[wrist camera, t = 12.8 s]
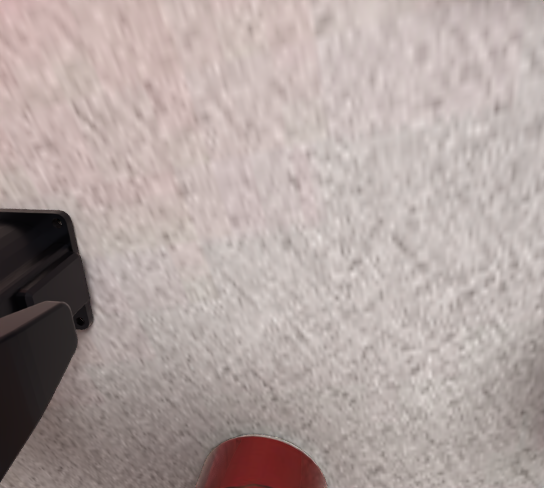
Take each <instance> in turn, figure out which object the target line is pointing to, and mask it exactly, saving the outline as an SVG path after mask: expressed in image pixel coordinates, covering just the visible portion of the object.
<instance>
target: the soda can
mask: <svg viewBox="0 0 544 488" xmlns="http://www.w3.org/2000/svg"><path fill="white" fill-rule="evenodd" d="M195 488H327V483H326V480H325V477H324V475H323V473H322V471H321V470H320V468H319V466H318V465H317V464H316V463H315V462H314V461H313V460H312V458H311V457H310V456H309V455H308V454H306V453H305V452H304V451H303V450H302V449H300V448H299V447H297V446H295V445H294V444H292V443H290V442H288V441H286V440H283V439H280V438H277V437H273V436H269V435H261V434H250V435H242V436H238V437H234V438H231V439H229V440H227V441H224V442H222V443H221V444H219V445H218V446H217V447H215V448H214V449H213V450H212V451H211V453H210V454H209V455H208V456H207V458H206V460H205V463H204V465H203V468H202V471H201V473H200V476H199V479H198V481H197V484H196V487H195Z"/></svg>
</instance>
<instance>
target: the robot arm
mask: <svg viewBox="0 0 544 488" xmlns="http://www.w3.org/2000/svg"><path fill="white" fill-rule="evenodd" d="M57 219H59V220H60V221H61V222H62V225H61V224H59V223H58V221H57ZM80 318H82V319H84V321H82V320H81V319H80ZM92 322H93V316H92V311H91V307H90V302H89V293H88V288H87V284H86V279H85V275H84V270H83V266H82V261H81V257H80V255H79V253H78V248H77V244H76V239H75V235H74V230H73V226H72V221H71V218H70V216H69V215H68V214H67V213H65V212H64V211H60V210H29V209H0V482H1V481H2V479H3V478H4V476H5V474H6V473H7V471H8V470H9V468H10V467H11V465H12V463H13V462H14V460H15V459H16V457H17V456H18V454H19V452H20V451H21V449H22V448H23V446H24V445H25V443H26V441H27V440H28V438H29V437H30V435H31V434H32V432H33V430H34V429H35V427H36V426H37V424H38V422H39V421H40V419H41V417H42V415H43V414H44V412H45V410H46V408H47V406H48V404H49V402H50V400H51V398H52V396H53V394H54V392H55V390H56V388H57V387H58V385H59V383H60V381H61V379H62V377H63V375H64V373H65V371H66V369H67V367H68V365H69V363H70V361H71V359H72V357H73V355H74V353H75V351H76V348H77V343H78V339H77V333H76V329H81V330H83V329H87V328H88V327H89V326H90V325H91V324H92Z"/></svg>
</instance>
